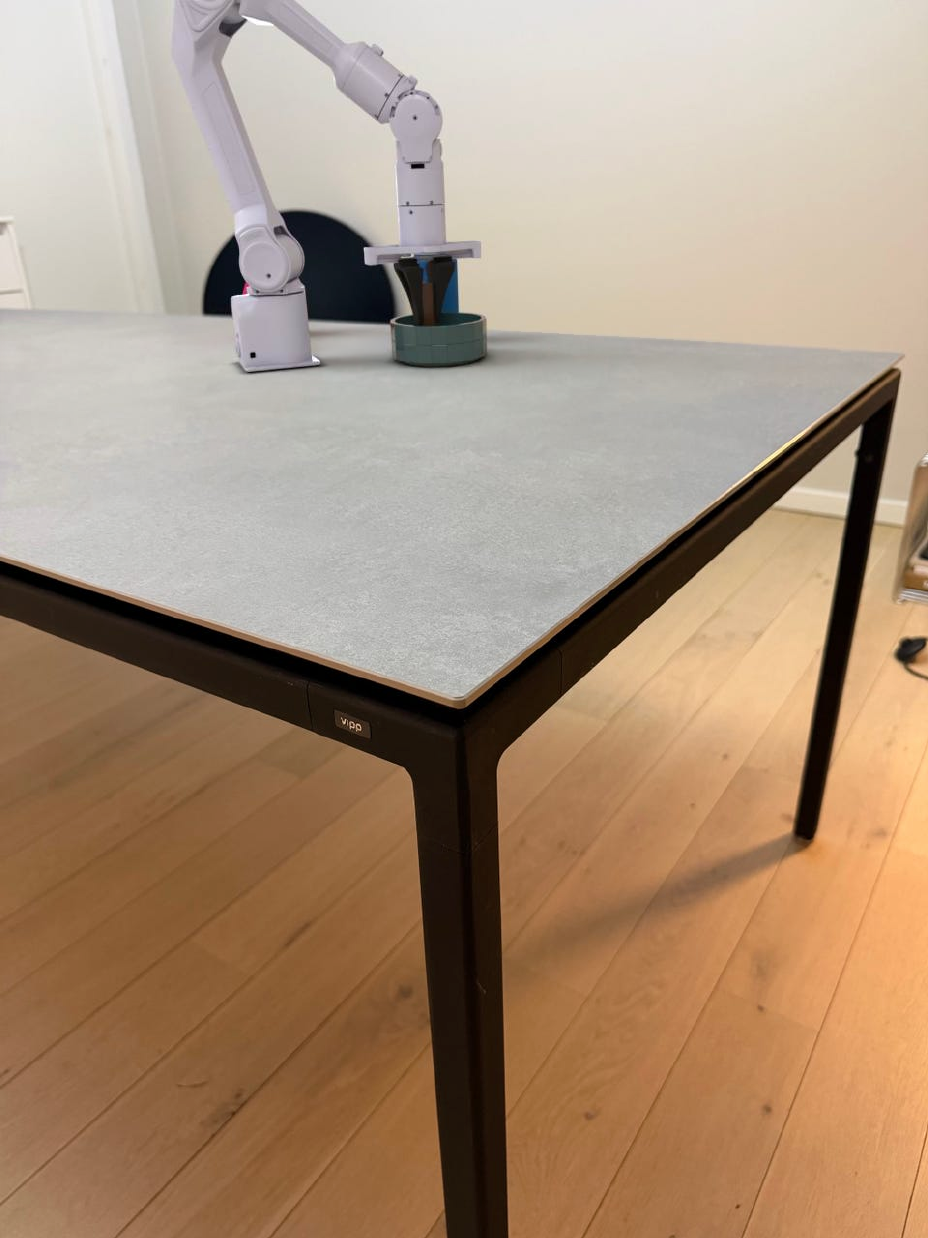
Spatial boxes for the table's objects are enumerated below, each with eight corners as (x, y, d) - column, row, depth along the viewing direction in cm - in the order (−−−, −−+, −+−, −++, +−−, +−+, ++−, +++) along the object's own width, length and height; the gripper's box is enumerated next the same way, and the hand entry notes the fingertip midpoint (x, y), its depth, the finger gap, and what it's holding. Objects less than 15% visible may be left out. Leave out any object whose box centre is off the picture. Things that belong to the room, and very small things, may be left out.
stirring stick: (424, 349, 117) (420, 283, 114) (420, 347, 119) (417, 282, 115) (436, 348, 118) (433, 282, 114) (432, 346, 119) (429, 281, 116)
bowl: (408, 371, 112) (406, 329, 110) (382, 355, 123) (379, 316, 120) (501, 362, 116) (500, 321, 114) (467, 347, 126) (466, 309, 124)
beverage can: (409, 344, 129) (404, 253, 124) (421, 337, 135) (417, 249, 130) (453, 345, 128) (450, 252, 123) (464, 337, 134) (461, 248, 128)
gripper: (371, 208, 105) (380, 331, 111) (489, 202, 109) (491, 321, 116) (356, 207, 111) (365, 323, 117) (468, 201, 115) (471, 314, 121)
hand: (426, 322), depth 117 cm, fingers closed on stirring stick, 1 cm apart
